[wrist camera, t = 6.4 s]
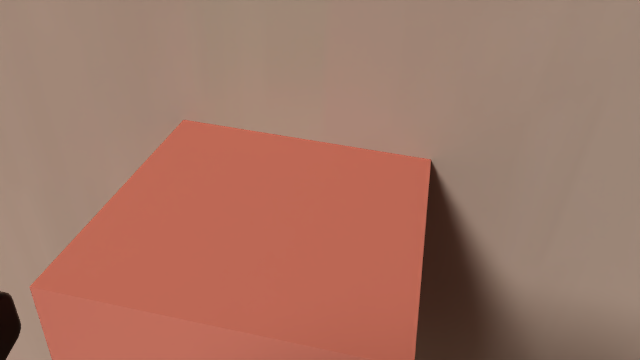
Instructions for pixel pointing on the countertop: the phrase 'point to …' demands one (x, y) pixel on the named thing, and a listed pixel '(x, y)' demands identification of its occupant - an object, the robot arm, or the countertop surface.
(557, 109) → the countertop surface
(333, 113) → the countertop surface
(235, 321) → the cube
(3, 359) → the robot arm
